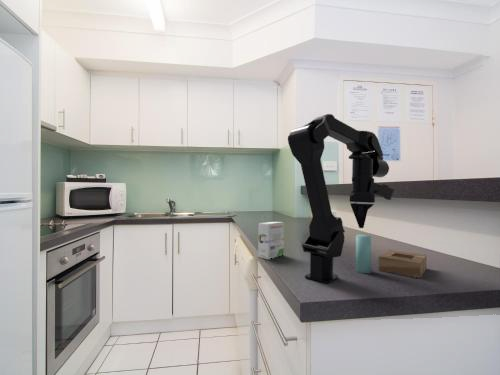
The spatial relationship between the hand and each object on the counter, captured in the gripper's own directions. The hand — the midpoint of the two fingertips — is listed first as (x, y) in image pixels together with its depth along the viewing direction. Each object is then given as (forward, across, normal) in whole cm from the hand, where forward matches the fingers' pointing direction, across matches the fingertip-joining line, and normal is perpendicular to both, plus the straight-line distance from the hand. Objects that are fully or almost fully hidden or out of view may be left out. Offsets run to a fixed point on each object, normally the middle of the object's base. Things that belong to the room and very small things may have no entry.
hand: (361, 226), depth 76 cm
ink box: (+13, +1, +28) cm, 31 cm away
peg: (+12, -4, -1) cm, 13 cm away
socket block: (+12, +4, -11) cm, 17 cm away
